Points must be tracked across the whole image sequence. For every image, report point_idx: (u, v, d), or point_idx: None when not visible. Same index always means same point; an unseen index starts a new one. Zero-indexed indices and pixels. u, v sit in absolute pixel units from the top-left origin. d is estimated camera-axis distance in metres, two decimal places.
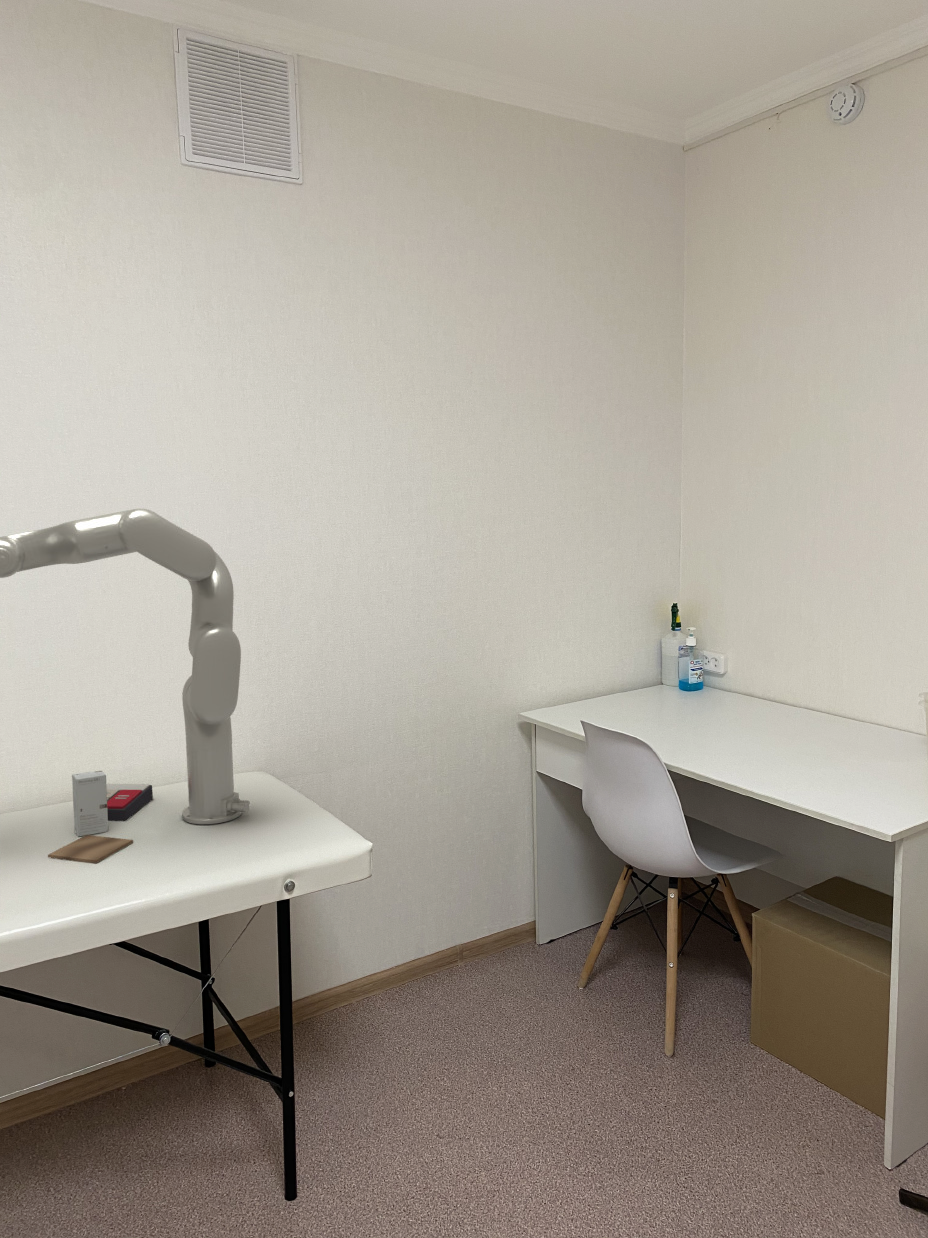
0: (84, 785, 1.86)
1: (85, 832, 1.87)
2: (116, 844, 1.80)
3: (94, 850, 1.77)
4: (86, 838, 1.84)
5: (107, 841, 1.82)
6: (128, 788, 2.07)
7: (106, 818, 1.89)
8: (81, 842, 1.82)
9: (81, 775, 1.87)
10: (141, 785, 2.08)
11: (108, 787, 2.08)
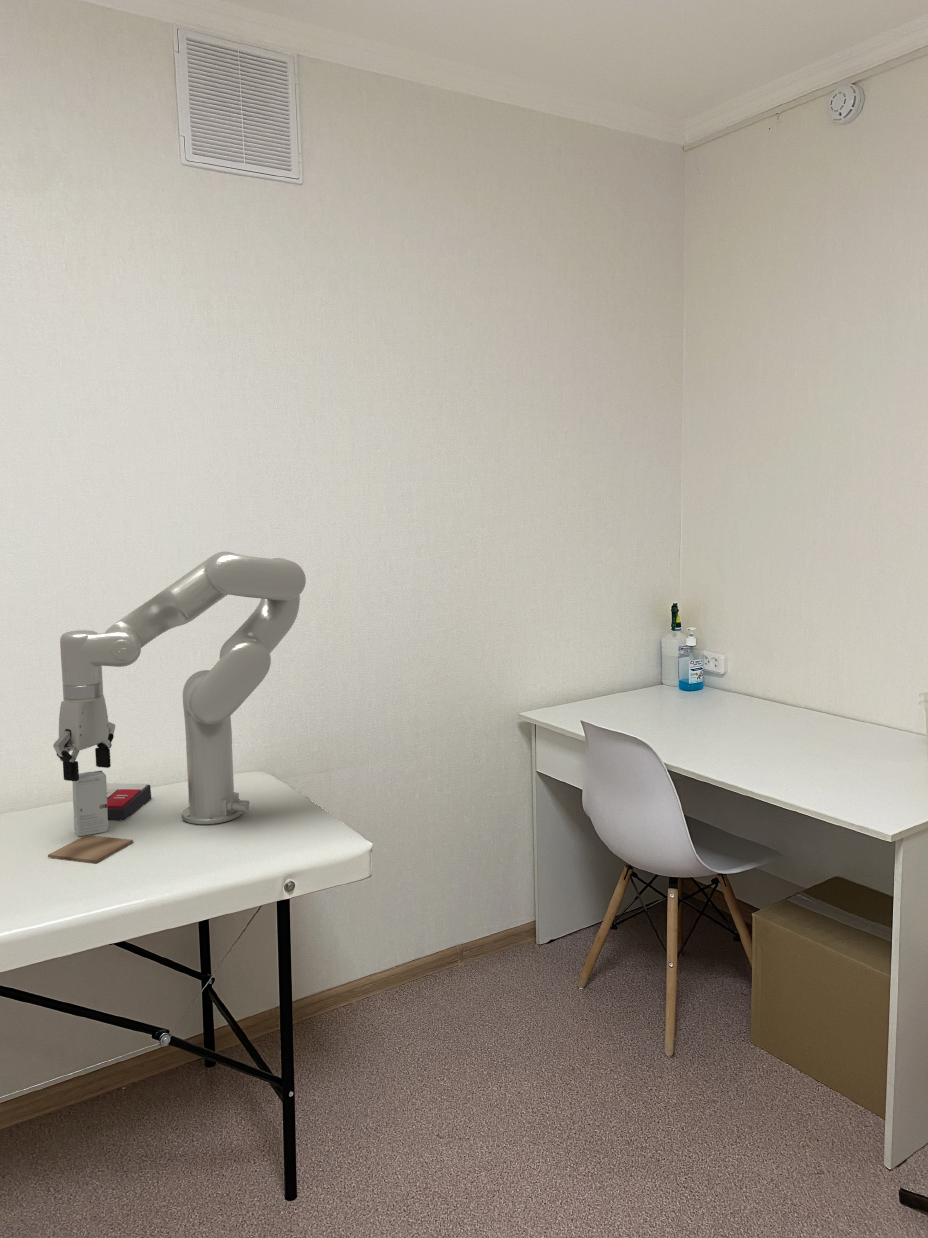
0: (84, 785, 1.86)
1: (85, 832, 1.87)
2: (116, 844, 1.80)
3: (94, 850, 1.77)
4: (86, 838, 1.84)
5: (107, 841, 1.82)
6: (126, 788, 2.07)
7: (106, 818, 1.89)
8: (81, 842, 1.82)
9: (81, 775, 1.87)
10: (140, 785, 2.09)
11: None
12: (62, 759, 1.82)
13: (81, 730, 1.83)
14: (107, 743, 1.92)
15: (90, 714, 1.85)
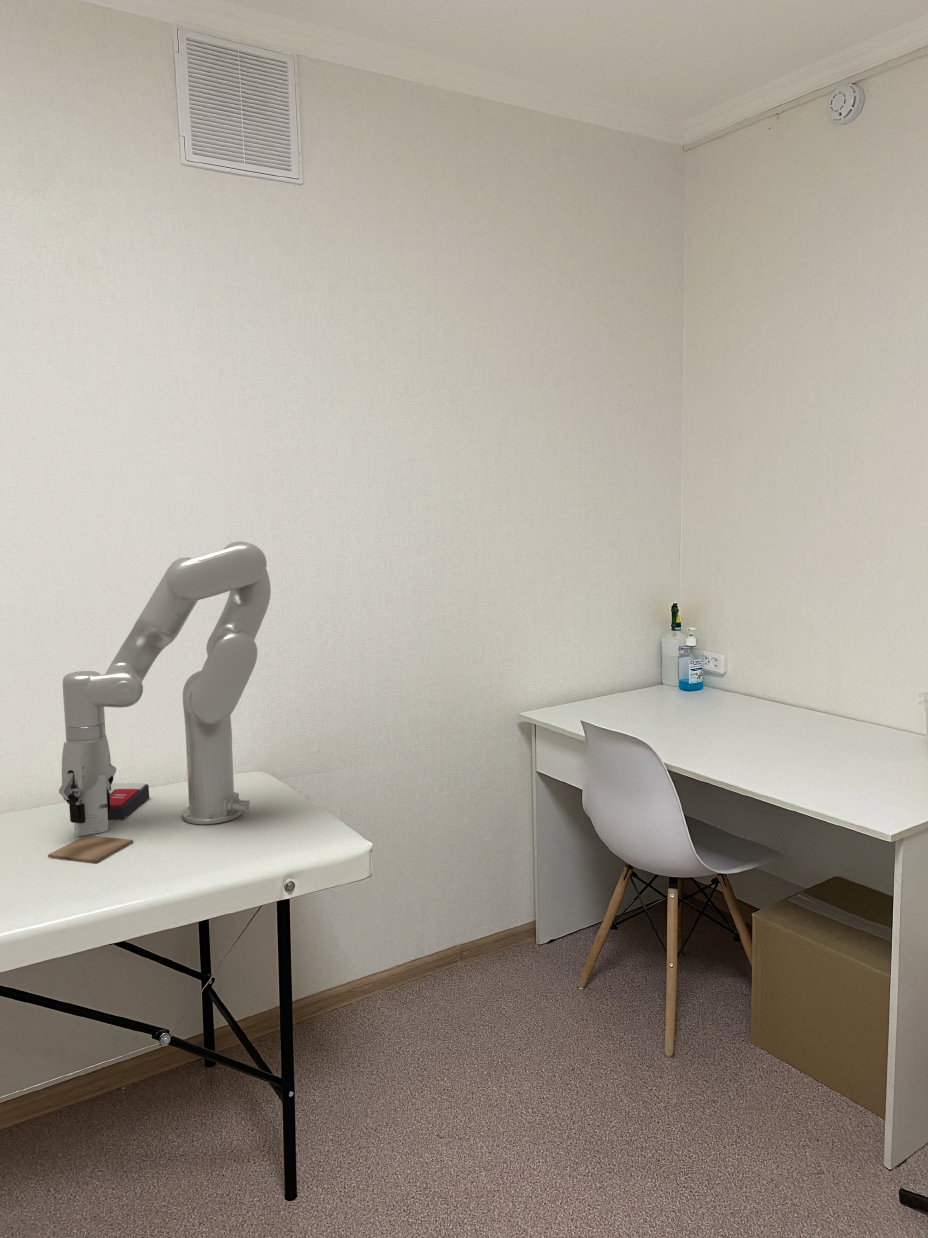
0: None
1: (85, 832, 1.87)
2: (116, 844, 1.80)
3: (94, 850, 1.77)
4: (86, 838, 1.84)
5: (107, 841, 1.82)
6: (125, 787, 2.07)
7: (106, 818, 1.89)
8: (81, 842, 1.82)
9: None
10: (138, 785, 2.09)
11: None
12: (69, 802, 1.84)
13: (84, 771, 1.84)
14: (107, 786, 1.92)
15: (92, 755, 1.86)
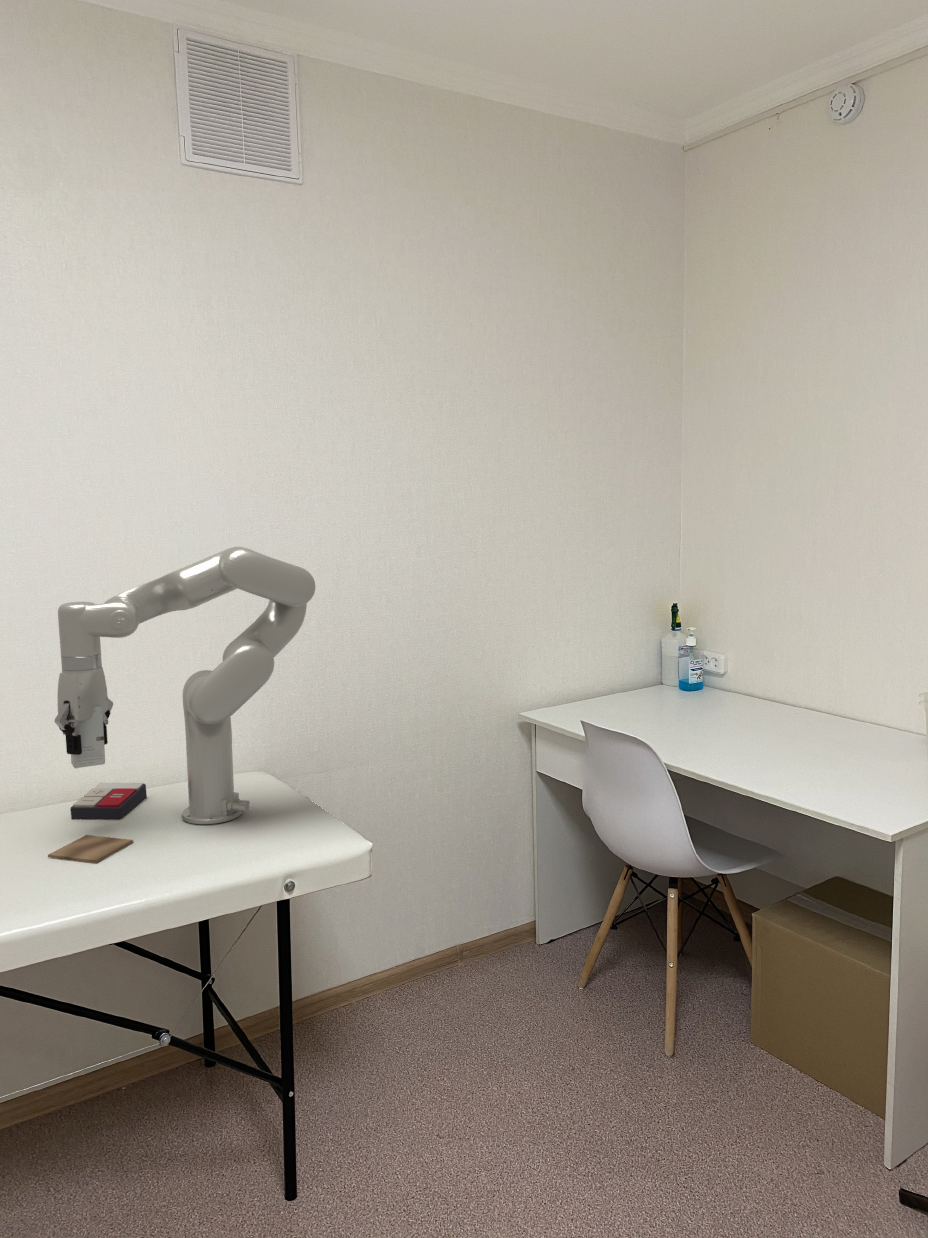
0: None
1: (82, 764, 1.85)
2: (116, 844, 1.80)
3: (94, 850, 1.77)
4: (86, 838, 1.84)
5: (107, 841, 1.82)
6: (122, 787, 2.08)
7: (103, 751, 1.87)
8: (81, 842, 1.82)
9: None
10: (135, 784, 2.09)
11: (102, 786, 2.08)
12: (65, 732, 1.82)
13: (80, 702, 1.82)
14: (104, 720, 1.90)
15: (89, 686, 1.84)
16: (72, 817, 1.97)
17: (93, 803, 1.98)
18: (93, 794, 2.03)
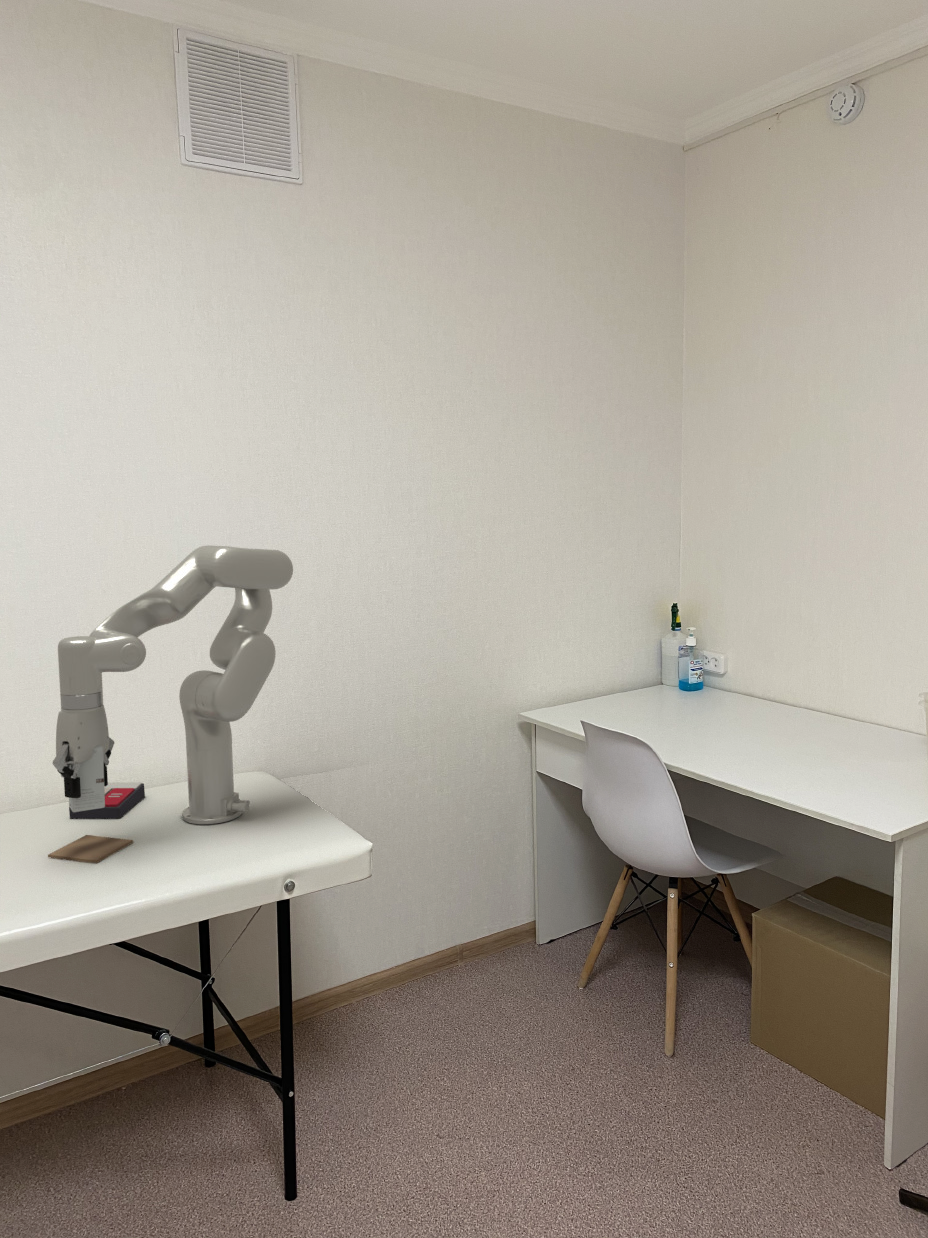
0: None
1: (80, 808, 1.75)
2: (116, 844, 1.80)
3: (94, 850, 1.77)
4: (86, 838, 1.84)
5: (107, 841, 1.82)
6: (120, 786, 2.08)
7: (103, 793, 1.77)
8: (81, 842, 1.82)
9: None
10: (133, 784, 2.10)
11: None
12: (63, 775, 1.72)
13: (80, 742, 1.72)
14: (104, 760, 1.80)
15: (89, 725, 1.74)
16: (71, 817, 1.97)
17: None
18: None
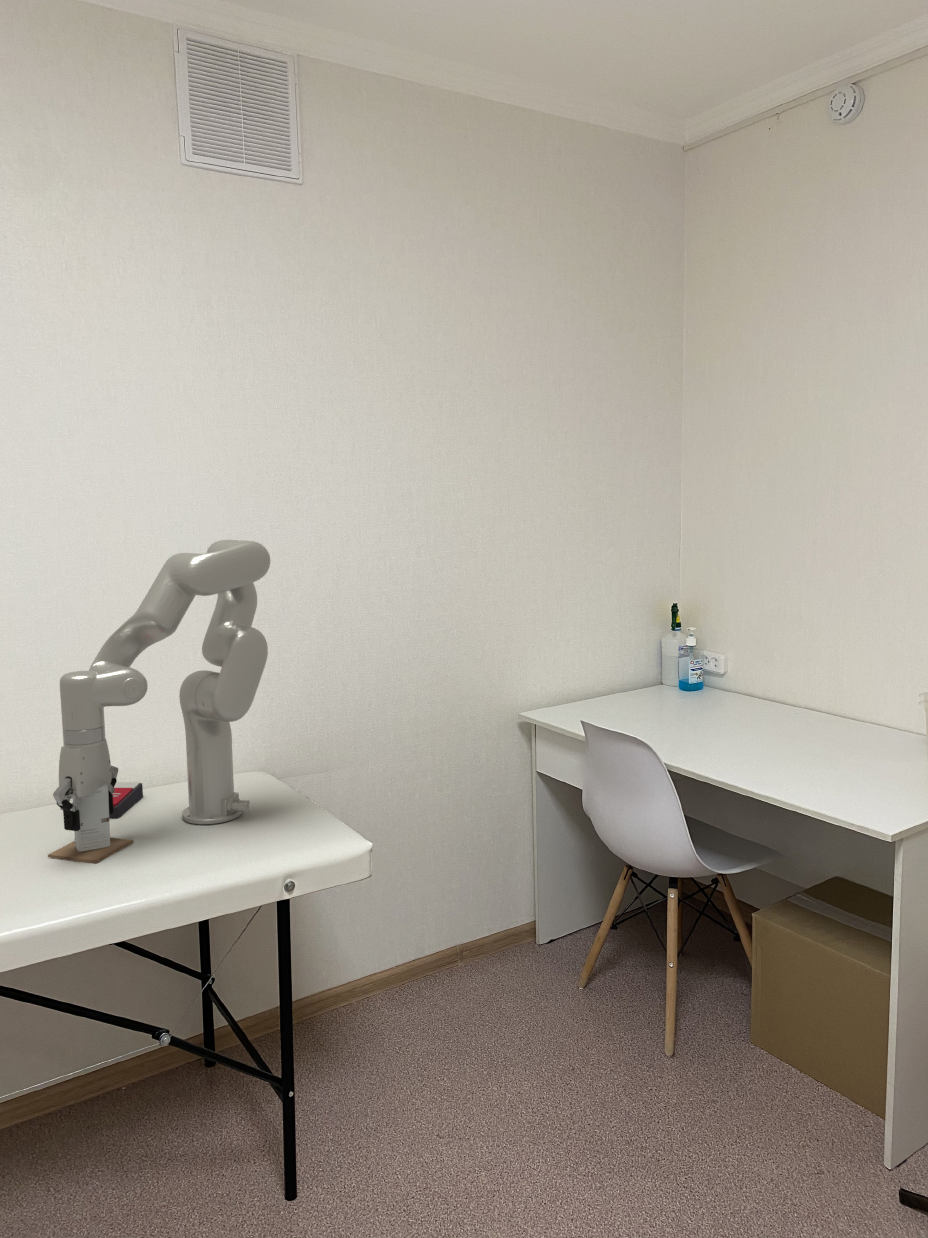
0: (85, 798, 1.76)
1: (86, 848, 1.77)
2: (116, 844, 1.80)
3: (94, 850, 1.77)
4: None
5: None
6: (119, 786, 2.08)
7: (108, 832, 1.79)
8: None
9: None
10: (132, 784, 2.10)
11: None
12: (62, 808, 1.72)
13: (83, 777, 1.73)
14: (110, 788, 1.82)
15: (91, 760, 1.75)
16: None
17: None
18: None
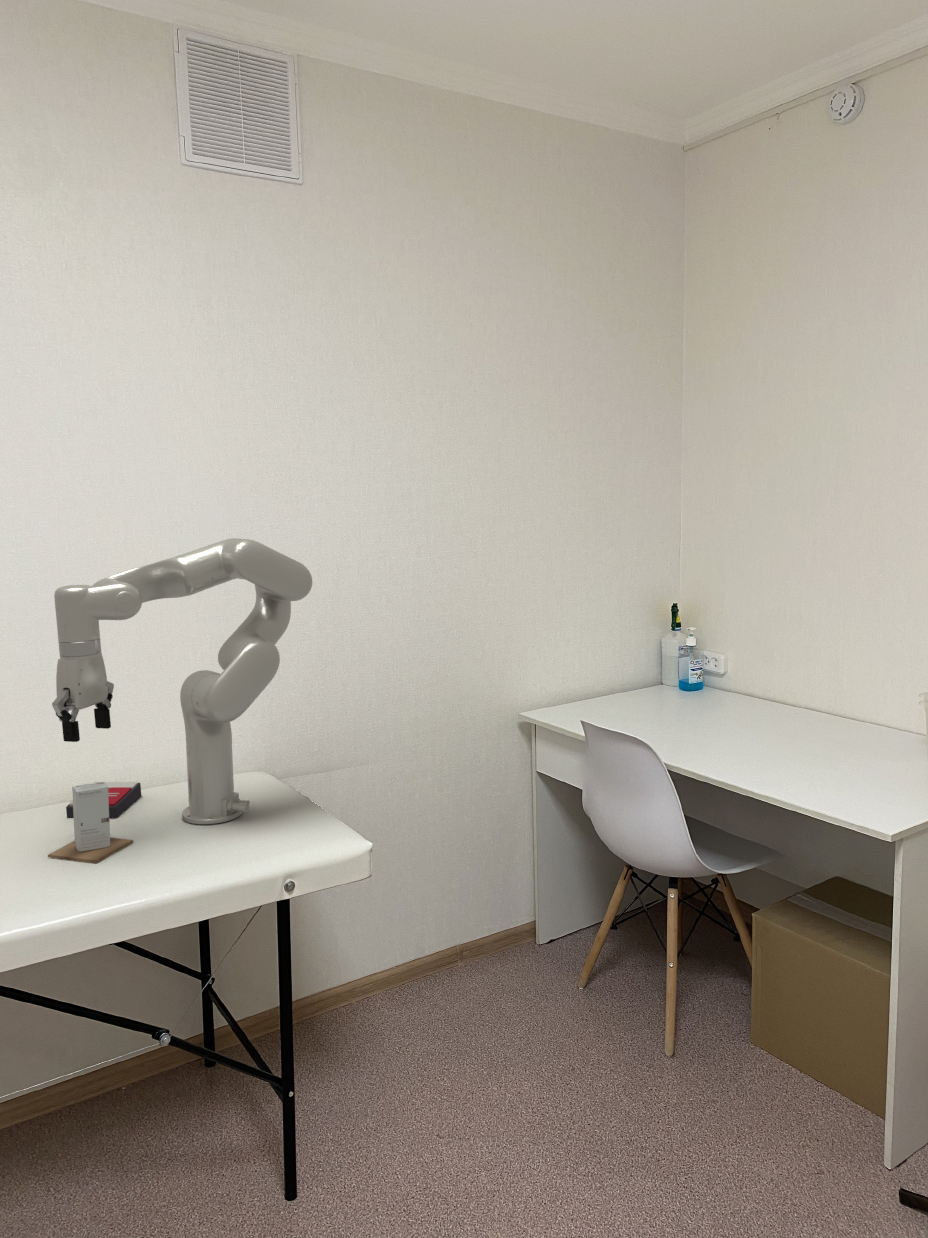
0: (85, 798, 1.76)
1: (86, 848, 1.77)
2: (116, 844, 1.80)
3: (94, 850, 1.77)
4: None
5: None
6: (117, 786, 2.08)
7: (108, 832, 1.79)
8: None
9: (82, 787, 1.77)
10: (130, 783, 2.10)
11: None
12: (61, 719, 1.74)
13: (81, 689, 1.75)
14: (106, 703, 1.84)
15: (89, 672, 1.77)
16: (68, 816, 1.98)
17: None
18: None
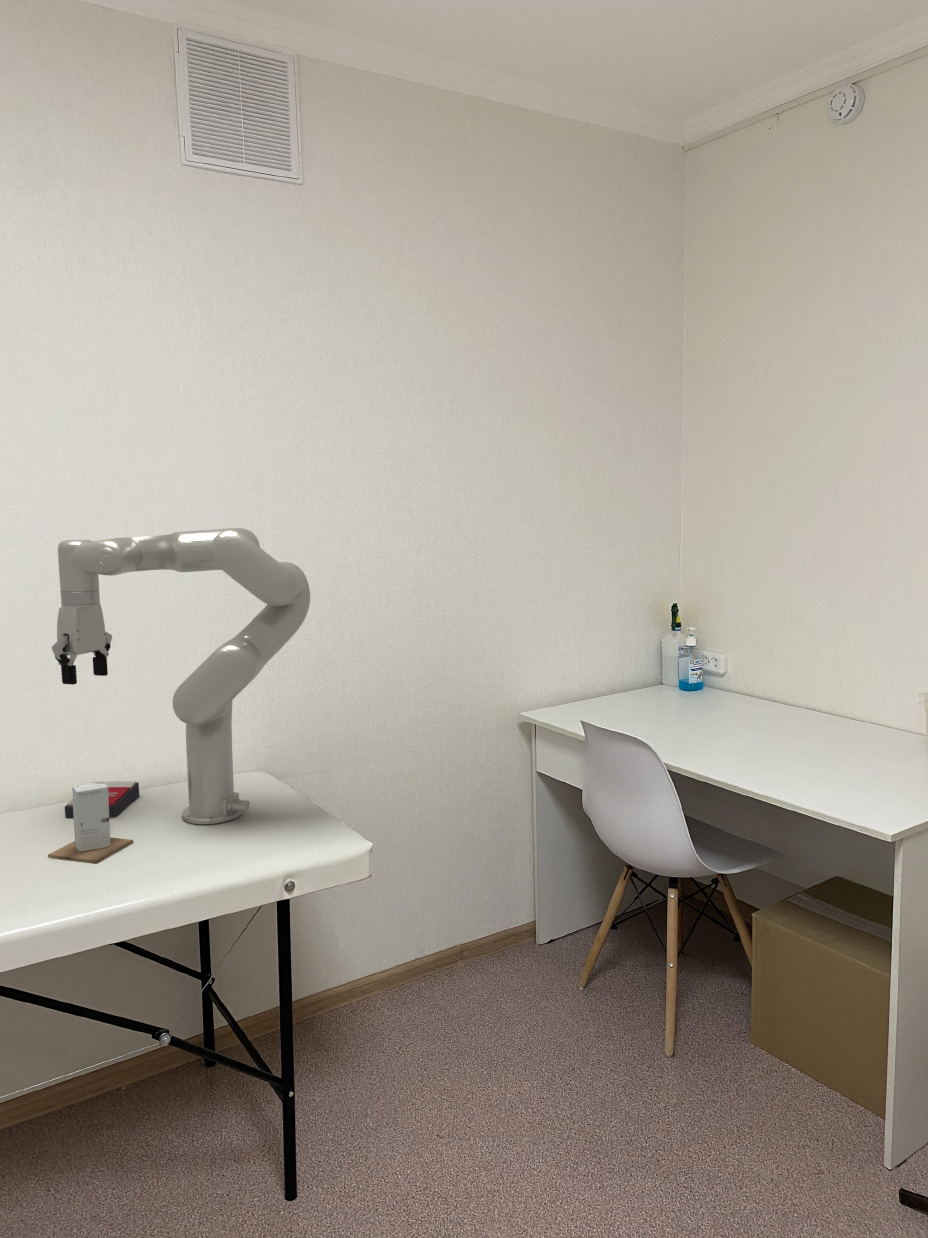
0: (85, 798, 1.76)
1: (86, 848, 1.77)
2: (116, 844, 1.80)
3: (94, 850, 1.77)
4: None
5: None
6: (115, 785, 2.09)
7: (108, 832, 1.79)
8: None
9: (82, 787, 1.77)
10: (128, 783, 2.10)
11: None
12: (60, 662, 1.87)
13: (79, 635, 1.89)
14: (104, 651, 1.98)
15: (87, 620, 1.91)
16: (66, 816, 1.98)
17: None
18: None
